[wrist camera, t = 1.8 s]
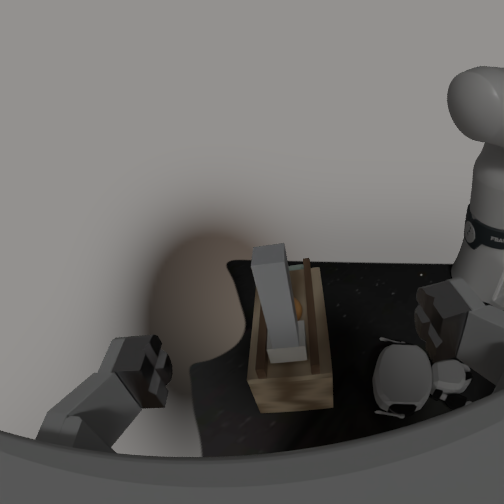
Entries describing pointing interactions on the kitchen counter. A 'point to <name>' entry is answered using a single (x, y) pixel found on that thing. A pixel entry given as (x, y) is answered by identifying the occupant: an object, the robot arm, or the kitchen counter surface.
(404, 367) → the robot toy
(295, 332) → the tall post on base
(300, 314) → the ball
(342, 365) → the kitchen counter surface
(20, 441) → the robot arm
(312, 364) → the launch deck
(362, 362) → the kitchen counter surface
